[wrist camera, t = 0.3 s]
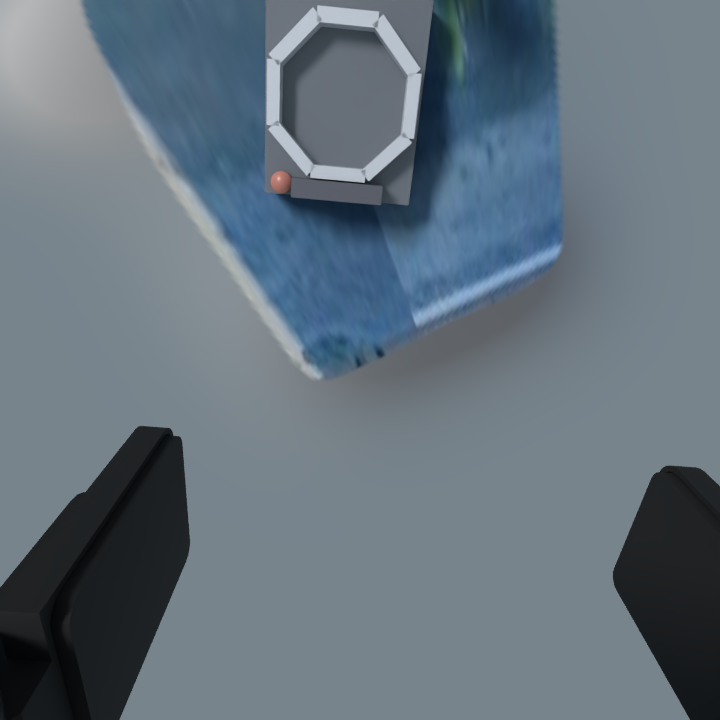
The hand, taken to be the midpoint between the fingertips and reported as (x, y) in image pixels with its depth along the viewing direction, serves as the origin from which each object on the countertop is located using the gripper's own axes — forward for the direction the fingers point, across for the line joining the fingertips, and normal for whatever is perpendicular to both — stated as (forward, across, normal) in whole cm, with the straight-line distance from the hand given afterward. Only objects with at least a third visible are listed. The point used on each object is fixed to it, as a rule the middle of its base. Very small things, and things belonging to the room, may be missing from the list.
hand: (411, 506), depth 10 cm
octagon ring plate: (+30, +3, -9) cm, 31 cm away
